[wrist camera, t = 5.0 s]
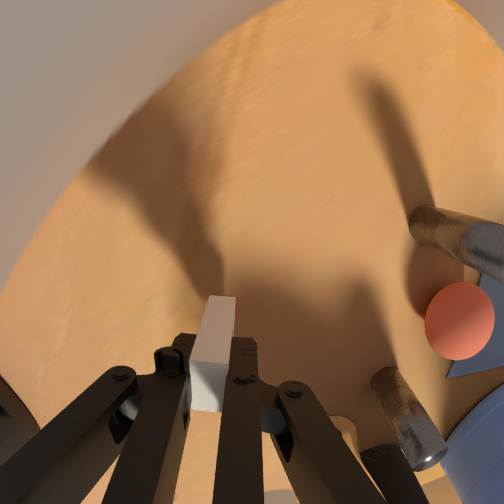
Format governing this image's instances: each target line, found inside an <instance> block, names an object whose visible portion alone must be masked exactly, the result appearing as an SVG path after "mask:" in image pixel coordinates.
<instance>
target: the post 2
mask: <svg viewBox="0 0 504 504" xmlns="http://www.w3.org/2000/svg"><path fill="white" fill-rule="evenodd" d="M409 229H410V233H411V235H412V237H413V238H414V239H415V240H416V241H418V242H420V243H422V244H424V245H426V246H428V247H430V248H432V249H435V250H437V251H439V252H441V253H443V254H445V255H447V256H449V257H451V258H453V259H455V260H457V261H459V262H461V263H463V264H465V265H467V266H469V267H471V268H473V269H475V270H477V271H479V272H481V273H483V274H485V275H486V276H488V277H490V278H492V279H494V280H496V281H498V282H499V283H501V284H503V285H504V225H502V224H498V223H495V222H491V221H488V220H484V219H480V218H477V217H473V216H469V215H465V214H462V213H458V212H454V211H450V210H446V209H442V208H437V207H433V206H429V205H422V206H419V207H418V208H416V209H415V210H414V212H413V213H412V215H411V218H410V222H409Z"/></svg>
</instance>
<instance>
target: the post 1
mask: <svg viewBox="0 0 504 504" xmlns="http://www.w3.org/2000/svg"><path fill="white" fill-rule="evenodd" d="M371 387H372V389H373V391H374V393H375V395H376V397H377V399H378V401H379V403H380V405H381V407H382V409H383V411H384V413H385V415H386V417H387V419H388V421H389V423H390V425H391V427H392V429H393V431H394V433H395V435H396V437H397V439H398V441H399V443H400V445H401V447H402V449H403V451H404V454H405V456H406V458H407V460H408V462H409V464H410V466H411V468H412V470H413V471H415V472H419V471H423V470H426V469H428V468H430V467H432V466H433V465H435V464H436V463H438V462H439V461H440V460H441V459H442V458H443V457H444V456H445V455H446V454H447V452H448V449H449V448H448V446H447V444H446V442H445V441H444V439H443V438H442V436H441V434H440V433H439V431H438V430H437V428H436V426H435V425H434V423H433V422H432V420H431V419H430V417H429V415H428V414H427V412H426V411H425V409H424V408H423V406H422V405H421V403H420V402H419V400H418V399H417V397H416V396H415V394H414V393H413V391H412V390H411V388H410V387H409V385H408V384H407V382H406V381H405V379H404V378H403V376H402V375H401V373H400V372H399V370H398V369H397V368H395V367H387V368H384V369H382V370H380V371H379V372H378V373H376V374H375V376H374V377H373V379H372V381H371Z"/></svg>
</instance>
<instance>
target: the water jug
mask: <svg viewBox="0 0 504 504" xmlns="http://www.w3.org/2000/svg"><path fill="white" fill-rule="evenodd" d="M446 444H447V446H448V448H449V449H448V452H447V454H446V455H445V456H444V457H443V458H442V459H441V460H440V464H441V466H442V468H443V470H444V472H445V473H446V474H447V475H448V476H449V478H450V480H451V482H452V484H453V486H454V488H455V489H456V491H457V493H458V495H459V497H460V499H461V501H462V503H463V504H504V384H503V385H501V386H500V387H498V388H497V389H495V390H494V391H493V392H491V393H490V394H489V395H488V396H487V397H485V398H484V399H483V400H482V401H481V402H480V403H479V404H478V405H476V406H475V407H474V408H473V409H472V410H471V411H470V412H469V413H468V414H467V416H466V417H465V418H464V419H463V420H462V421H461V422H460V423H459V425H458V426H457V427H456V428H455V429H454V431H453V432H452V433H451V435H450V436H449V438H448V439H447V441H446Z"/></svg>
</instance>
